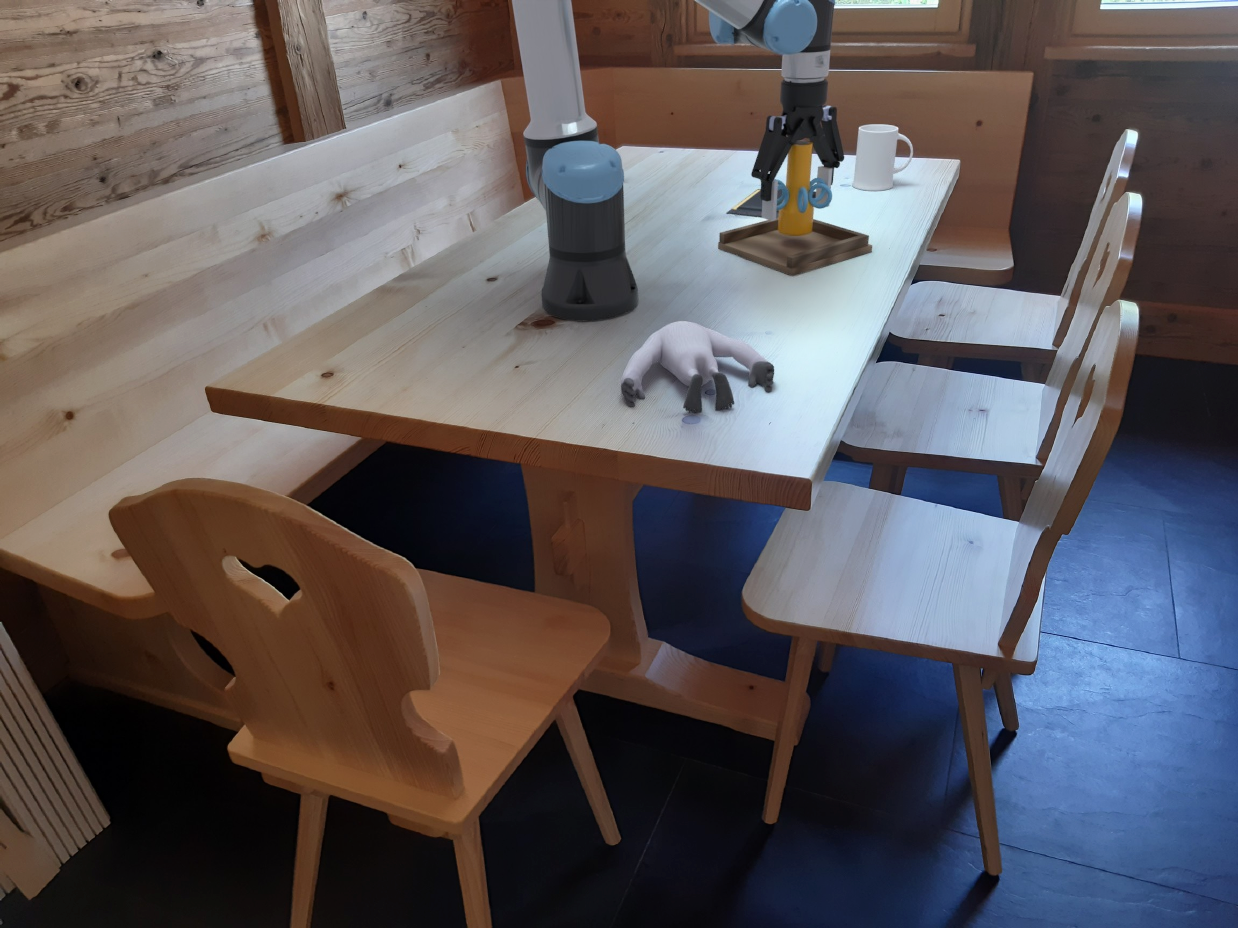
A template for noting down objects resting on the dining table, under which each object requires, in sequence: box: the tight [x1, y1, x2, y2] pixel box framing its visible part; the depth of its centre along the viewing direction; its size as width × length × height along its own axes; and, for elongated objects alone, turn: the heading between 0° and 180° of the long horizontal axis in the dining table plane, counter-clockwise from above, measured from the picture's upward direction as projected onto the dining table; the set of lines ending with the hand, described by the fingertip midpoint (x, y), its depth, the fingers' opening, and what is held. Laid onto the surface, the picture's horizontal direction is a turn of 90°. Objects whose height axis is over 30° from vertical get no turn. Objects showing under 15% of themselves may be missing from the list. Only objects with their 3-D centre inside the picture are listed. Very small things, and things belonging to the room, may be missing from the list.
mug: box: [851, 123, 914, 192], centre depth 193 cm, size 12×8×12 cm
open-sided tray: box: [717, 218, 873, 277], centre depth 161 cm, size 19×19×3 cm
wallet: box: [725, 188, 816, 219], centre depth 187 cm, size 20×2×15 cm
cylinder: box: [774, 139, 833, 236], centre depth 156 cm, size 12×10×15 cm
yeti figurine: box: [620, 320, 775, 415], centre depth 118 cm, size 20×7×20 cm
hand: (795, 212), depth 158 cm, fingers closed on cylinder, 12 cm apart
